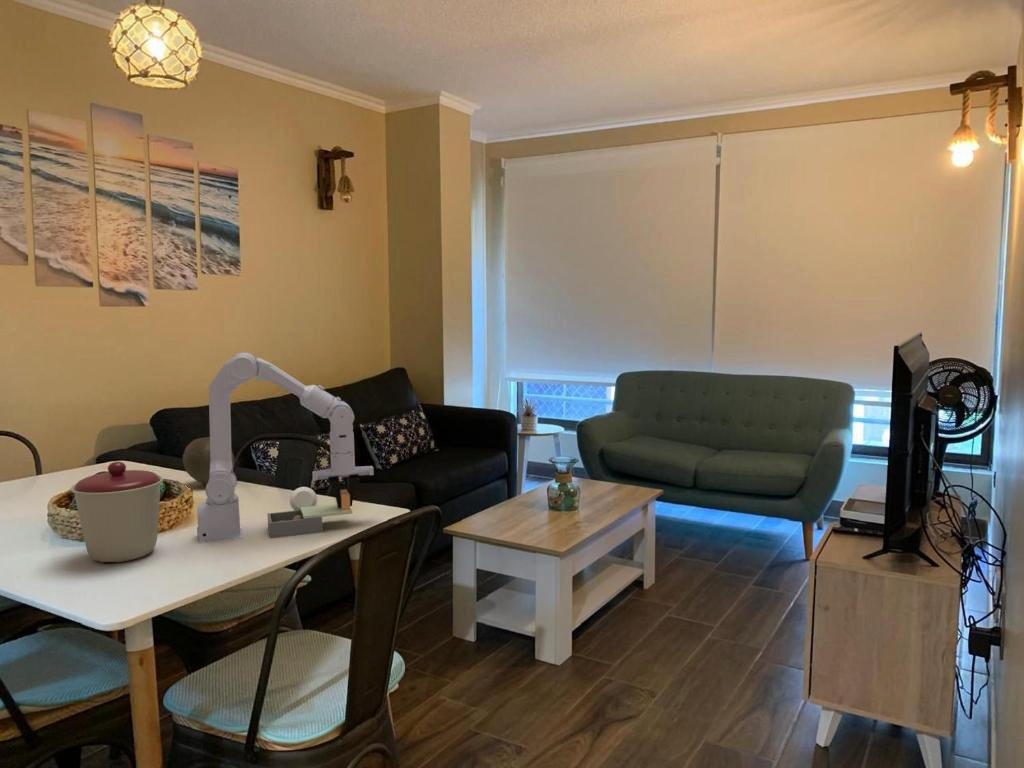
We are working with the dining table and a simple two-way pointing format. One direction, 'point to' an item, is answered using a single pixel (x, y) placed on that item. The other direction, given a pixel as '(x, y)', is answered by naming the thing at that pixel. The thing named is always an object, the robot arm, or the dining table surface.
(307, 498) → the supplement bottle
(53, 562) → the dining table surface
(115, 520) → the canister
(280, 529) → the tub
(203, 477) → the cantaloupe
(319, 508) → the lid
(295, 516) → the ball
